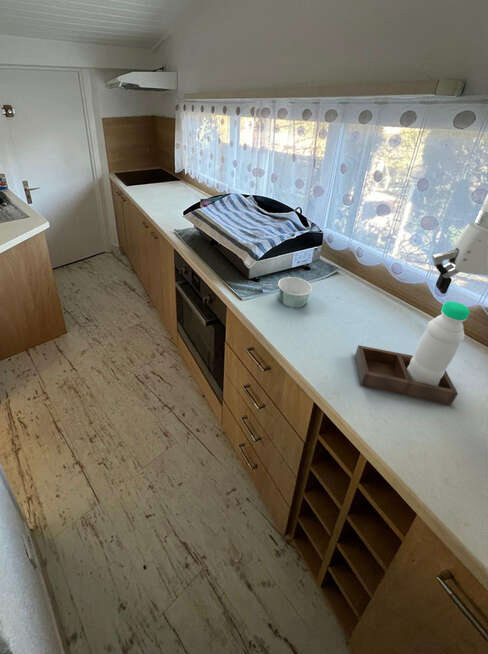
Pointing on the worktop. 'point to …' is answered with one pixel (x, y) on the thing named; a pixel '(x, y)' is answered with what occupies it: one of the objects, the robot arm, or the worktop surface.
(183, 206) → the worktop surface
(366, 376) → the tray
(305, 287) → the food container
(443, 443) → the worktop surface
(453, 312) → the water bottle
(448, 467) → the worktop surface
